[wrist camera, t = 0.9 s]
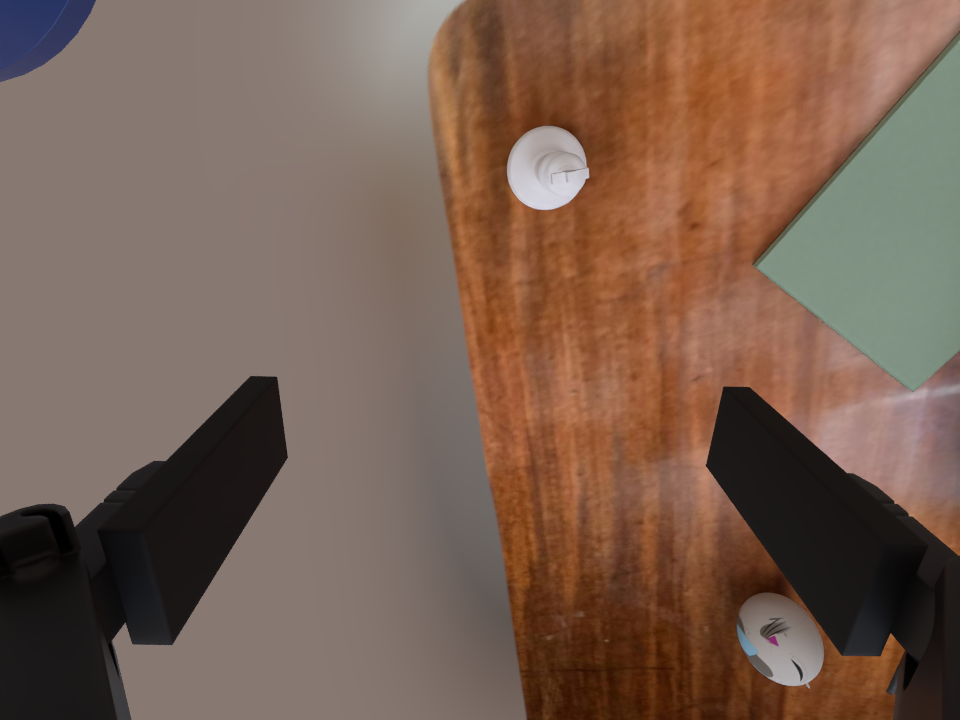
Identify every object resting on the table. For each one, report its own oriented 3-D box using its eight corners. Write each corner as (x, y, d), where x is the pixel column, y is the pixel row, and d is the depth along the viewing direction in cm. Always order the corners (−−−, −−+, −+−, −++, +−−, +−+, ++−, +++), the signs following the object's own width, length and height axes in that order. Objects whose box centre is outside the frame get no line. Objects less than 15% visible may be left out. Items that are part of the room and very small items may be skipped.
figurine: (708, 583, 45) (745, 652, 39) (776, 557, 44) (825, 624, 38) (738, 642, 48) (776, 716, 42) (802, 619, 47) (852, 690, 41)
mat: (752, 265, 35) (756, 267, 34) (984, 3, 29) (994, 0, 29) (907, 388, 38) (914, 392, 38) (1142, 174, 33) (1153, 175, 32)
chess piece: (589, 203, 33) (630, 223, 24) (512, 215, 34) (524, 240, 24) (582, 119, 32) (624, 106, 22) (501, 133, 32) (510, 126, 23)
